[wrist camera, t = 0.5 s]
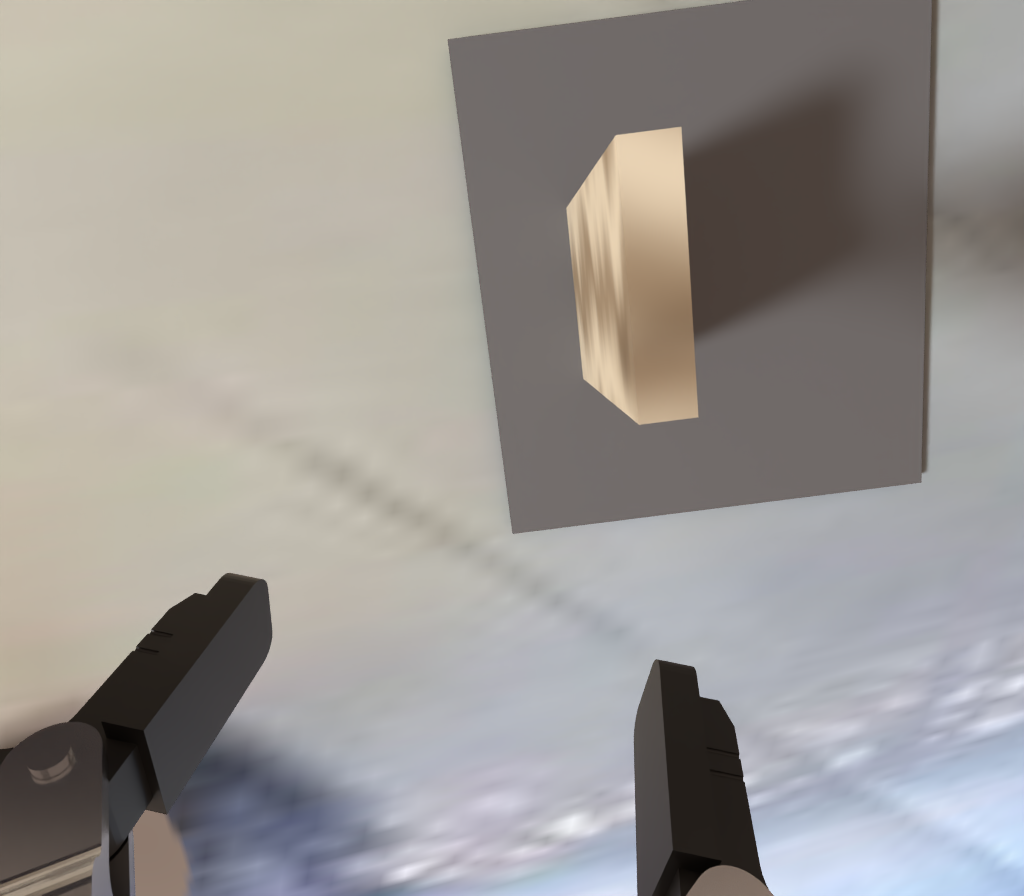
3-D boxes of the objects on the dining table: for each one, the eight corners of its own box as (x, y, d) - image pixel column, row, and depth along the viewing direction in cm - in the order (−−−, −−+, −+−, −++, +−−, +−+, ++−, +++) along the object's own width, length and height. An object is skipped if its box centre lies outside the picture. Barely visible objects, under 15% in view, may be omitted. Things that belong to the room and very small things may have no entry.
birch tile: (566, 208, 33) (615, 135, 19) (607, 202, 33) (686, 125, 19) (583, 378, 35) (639, 425, 21) (621, 373, 34) (702, 416, 21)
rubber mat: (448, 46, 31) (447, 39, 31) (921, -16, 31) (932, -24, 31) (512, 529, 37) (512, 533, 36) (912, 478, 37) (921, 482, 36)
